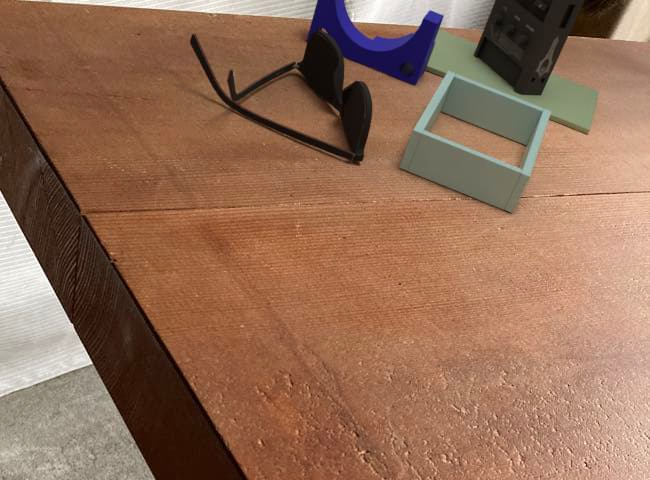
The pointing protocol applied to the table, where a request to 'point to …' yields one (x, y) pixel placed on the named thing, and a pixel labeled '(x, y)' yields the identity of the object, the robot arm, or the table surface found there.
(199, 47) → the sunglasses
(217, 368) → the table surface
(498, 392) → the table surface
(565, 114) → the mat
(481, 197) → the holder
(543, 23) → the geiger counter
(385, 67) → the blue curved cradle stand
